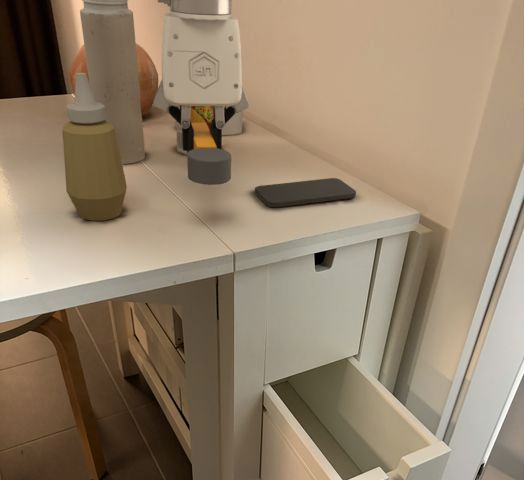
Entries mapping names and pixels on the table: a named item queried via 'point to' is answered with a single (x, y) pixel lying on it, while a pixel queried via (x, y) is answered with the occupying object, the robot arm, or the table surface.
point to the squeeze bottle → (92, 157)
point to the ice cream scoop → (207, 159)
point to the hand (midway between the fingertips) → (202, 154)
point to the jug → (145, 74)
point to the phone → (304, 192)
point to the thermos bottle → (115, 71)
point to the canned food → (195, 121)
